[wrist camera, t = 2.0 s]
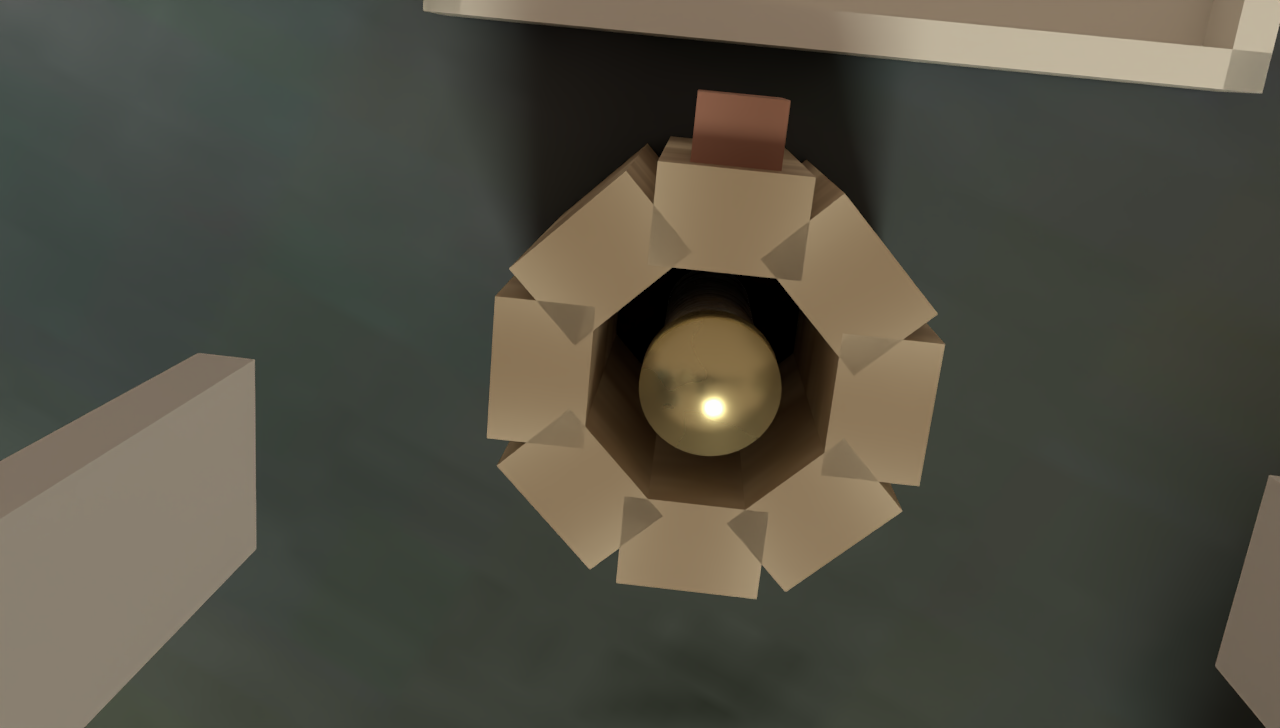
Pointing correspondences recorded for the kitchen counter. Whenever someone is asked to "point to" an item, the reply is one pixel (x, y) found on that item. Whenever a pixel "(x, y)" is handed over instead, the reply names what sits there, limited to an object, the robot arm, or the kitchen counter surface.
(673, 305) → the stake
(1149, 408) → the kitchen counter surface
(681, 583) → the ring
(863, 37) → the tray
